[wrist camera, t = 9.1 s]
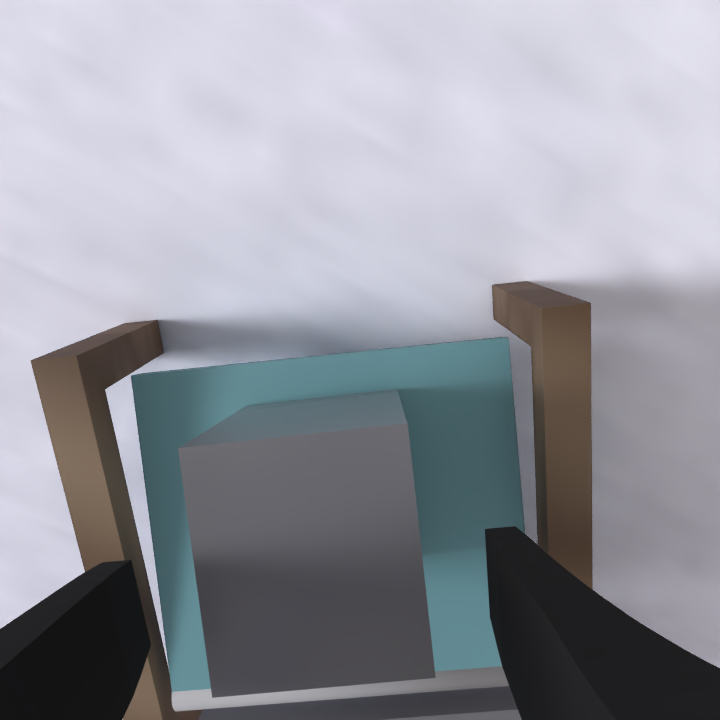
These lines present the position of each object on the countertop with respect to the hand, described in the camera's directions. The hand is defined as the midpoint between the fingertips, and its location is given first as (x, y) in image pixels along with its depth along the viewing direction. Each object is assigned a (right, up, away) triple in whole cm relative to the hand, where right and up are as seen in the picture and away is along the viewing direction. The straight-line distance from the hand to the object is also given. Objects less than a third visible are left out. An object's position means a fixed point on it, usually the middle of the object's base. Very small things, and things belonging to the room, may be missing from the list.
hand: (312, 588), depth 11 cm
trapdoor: (+1, -3, +9) cm, 9 cm away
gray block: (0, +1, +5) cm, 5 cm away
